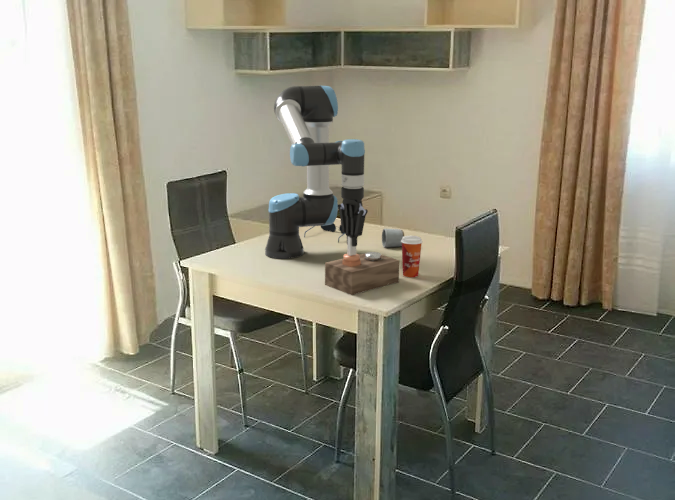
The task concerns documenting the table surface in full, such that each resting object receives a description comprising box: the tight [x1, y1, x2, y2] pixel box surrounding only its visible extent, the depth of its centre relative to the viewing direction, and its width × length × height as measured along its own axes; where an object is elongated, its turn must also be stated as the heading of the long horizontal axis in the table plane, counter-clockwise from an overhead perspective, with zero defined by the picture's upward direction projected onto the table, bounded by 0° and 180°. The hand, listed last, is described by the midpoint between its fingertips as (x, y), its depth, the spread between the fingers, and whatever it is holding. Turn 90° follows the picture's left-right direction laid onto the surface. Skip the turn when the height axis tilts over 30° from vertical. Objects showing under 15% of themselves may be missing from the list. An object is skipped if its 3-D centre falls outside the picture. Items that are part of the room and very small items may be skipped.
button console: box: [324, 252, 400, 296], centre depth 268 cm, size 14×22×8 cm, turn 130°
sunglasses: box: [303, 222, 346, 244], centre depth 330 cm, size 17×15×5 cm
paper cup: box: [401, 235, 423, 279], centre depth 277 cm, size 8×8×14 cm
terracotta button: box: [342, 253, 361, 267], centre depth 264 cm, size 6×6×8 cm
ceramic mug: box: [381, 228, 405, 248], centre depth 316 cm, size 11×8×8 cm
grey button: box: [364, 251, 382, 262], centre depth 271 cm, size 6×6×8 cm
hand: (351, 254), depth 263 cm, fingers closed
